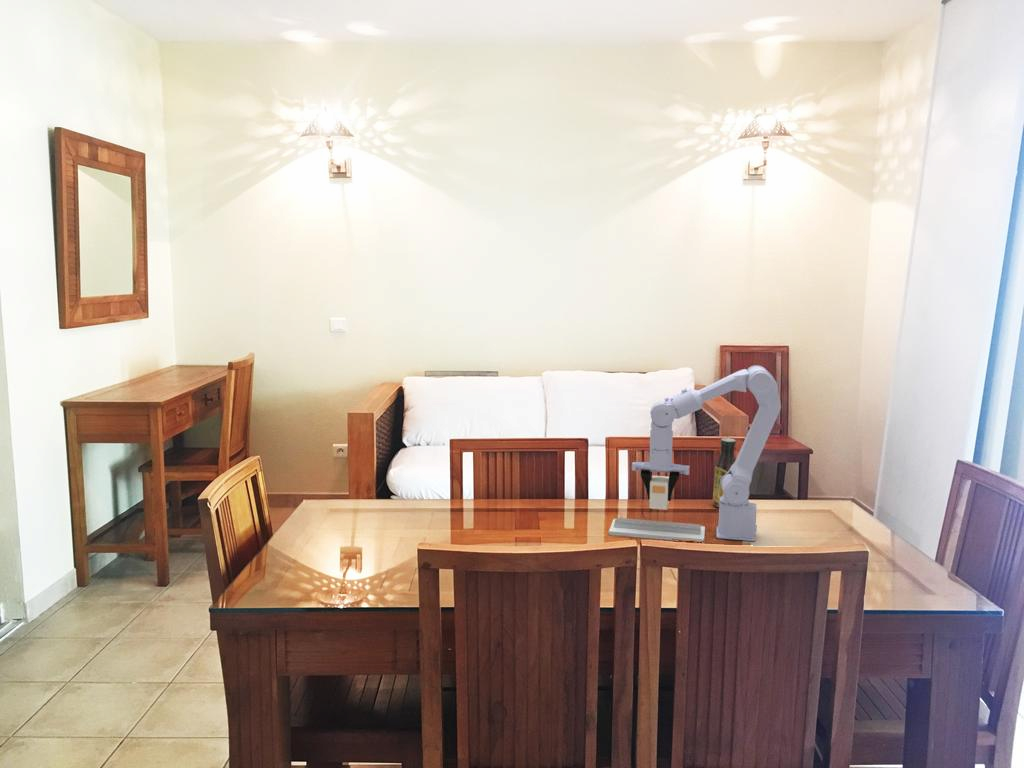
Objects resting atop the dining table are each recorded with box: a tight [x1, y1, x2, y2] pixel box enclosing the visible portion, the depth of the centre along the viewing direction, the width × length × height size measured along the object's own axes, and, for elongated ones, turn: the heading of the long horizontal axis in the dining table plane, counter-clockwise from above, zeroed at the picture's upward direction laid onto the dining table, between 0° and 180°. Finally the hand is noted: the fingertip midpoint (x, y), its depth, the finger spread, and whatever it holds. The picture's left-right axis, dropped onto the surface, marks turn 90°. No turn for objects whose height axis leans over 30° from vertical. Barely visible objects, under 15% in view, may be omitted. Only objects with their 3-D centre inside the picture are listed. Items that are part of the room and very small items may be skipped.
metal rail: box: [614, 517, 702, 535], centre depth 207 cm, size 22×4×2 cm, turn 75°
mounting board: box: [608, 518, 706, 544], centre depth 207 cm, size 24×10×1 cm, turn 75°
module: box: [648, 475, 670, 511], centre depth 207 cm, size 4×7×7 cm, turn 165°
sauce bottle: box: [712, 437, 737, 508], centre depth 227 cm, size 7×6×20 cm
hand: (659, 499), depth 207 cm, fingers closed on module, 4 cm apart
